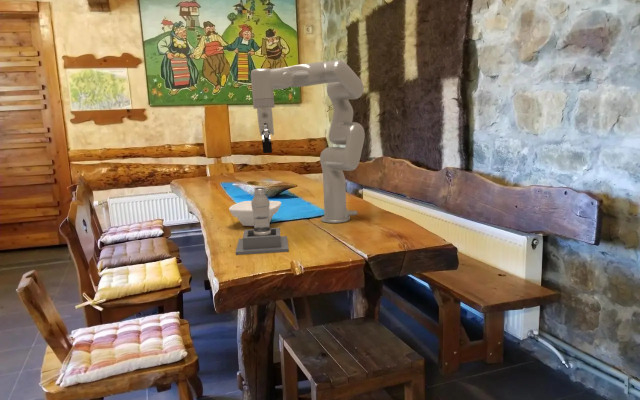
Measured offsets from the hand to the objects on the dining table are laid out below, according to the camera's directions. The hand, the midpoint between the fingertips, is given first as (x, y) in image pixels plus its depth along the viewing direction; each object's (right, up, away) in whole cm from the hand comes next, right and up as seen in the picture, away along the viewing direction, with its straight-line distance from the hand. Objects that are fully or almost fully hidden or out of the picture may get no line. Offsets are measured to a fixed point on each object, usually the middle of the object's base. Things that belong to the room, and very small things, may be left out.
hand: (267, 151), depth 176 cm
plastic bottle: (-1, -34, -4) cm, 34 cm away
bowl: (-8, -29, +29) cm, 41 cm away
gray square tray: (-1, -35, -4) cm, 35 cm away
